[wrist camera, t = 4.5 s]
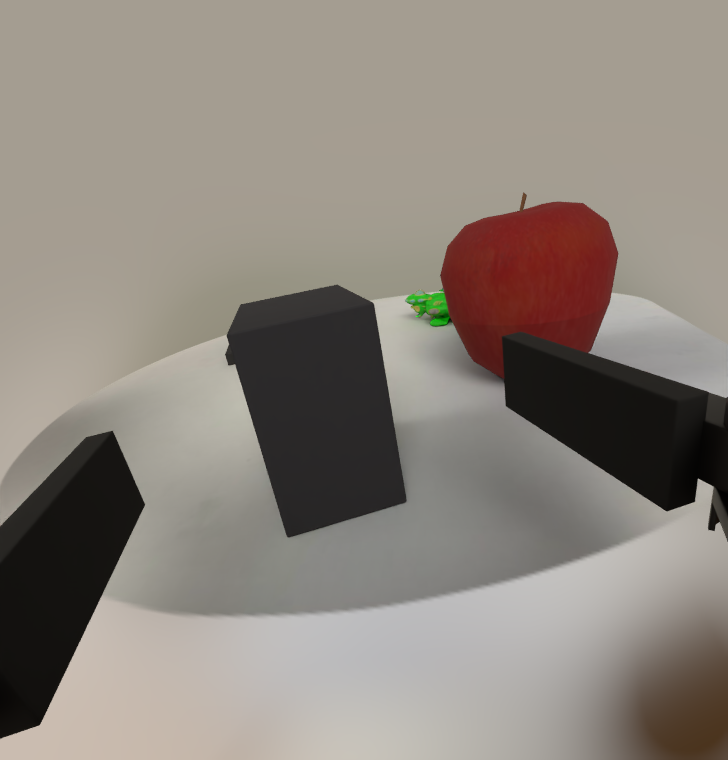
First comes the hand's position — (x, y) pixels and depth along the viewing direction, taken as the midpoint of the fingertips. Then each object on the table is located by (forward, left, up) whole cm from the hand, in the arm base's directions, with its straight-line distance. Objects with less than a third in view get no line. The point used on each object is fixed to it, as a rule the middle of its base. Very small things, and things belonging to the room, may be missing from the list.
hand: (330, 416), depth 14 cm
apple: (+7, +21, -7) cm, 24 cm away
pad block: (-4, +7, -7) cm, 11 cm away
